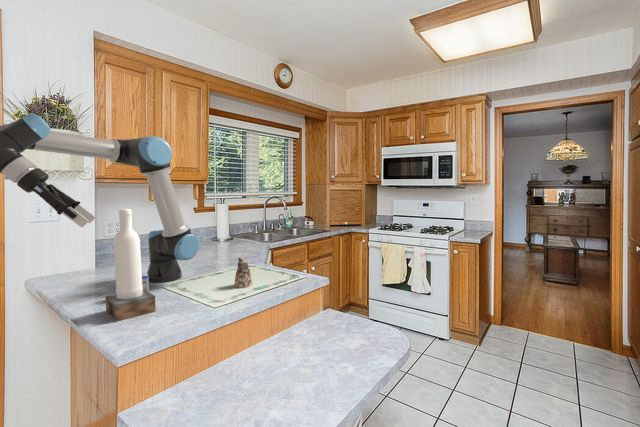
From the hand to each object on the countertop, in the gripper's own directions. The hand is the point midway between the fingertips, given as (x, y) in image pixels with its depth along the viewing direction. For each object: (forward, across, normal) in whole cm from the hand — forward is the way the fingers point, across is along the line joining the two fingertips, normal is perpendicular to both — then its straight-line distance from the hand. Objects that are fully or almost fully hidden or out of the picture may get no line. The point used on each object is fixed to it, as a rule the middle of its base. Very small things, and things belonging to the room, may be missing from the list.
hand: (89, 222), depth 110 cm
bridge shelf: (+30, 0, -15) cm, 33 cm away
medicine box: (+31, -16, -14) cm, 38 cm away
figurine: (+60, -13, +14) cm, 63 cm away
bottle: (+26, 0, -11) cm, 28 cm away
